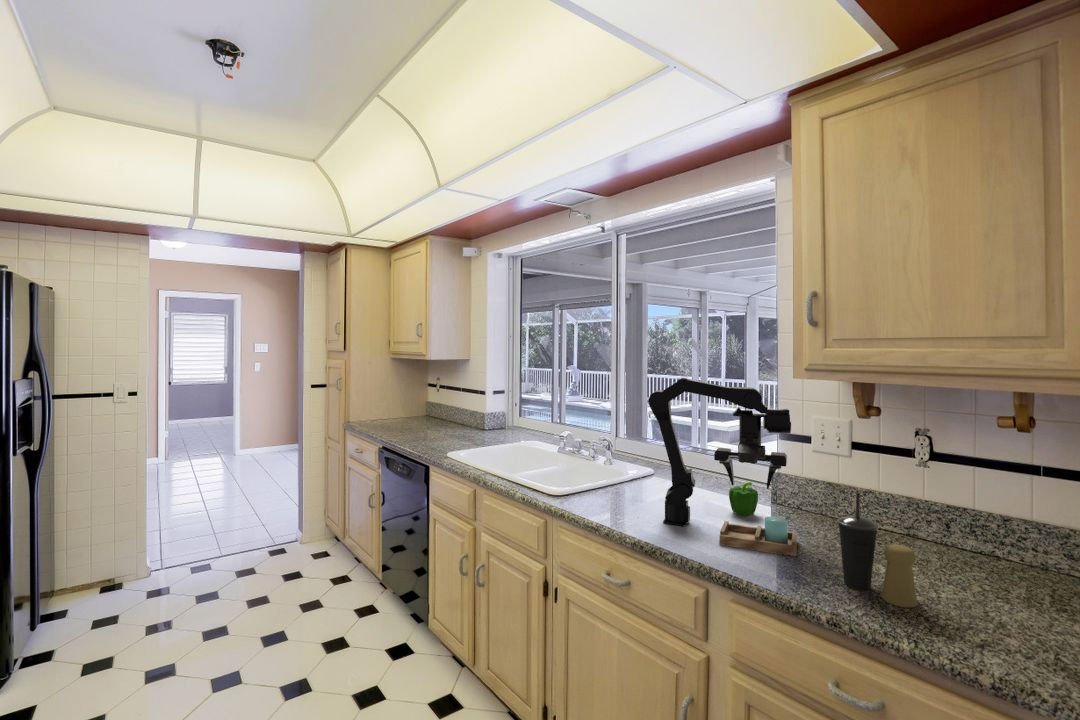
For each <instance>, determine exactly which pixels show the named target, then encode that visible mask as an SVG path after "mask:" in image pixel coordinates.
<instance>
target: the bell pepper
mask: <svg viewBox="0 0 1080 720" xmlns="http://www.w3.org/2000/svg"><path fill="white" fill-rule="evenodd" d="M752 485H753V482H751V481H747V482H744V483H743V484H742V487H741V486H738V485H736V486H734V487H730V489H729V491H728V498H729V499H728V500H729V503H730V507H731V510H732V512H733V514H736V515H737V516H741V517H750V516H751V515H754V514H755V512H756V510H757V506H758V502H759V493H758V491H757V490H756V489H754V488H753V487H752ZM747 486H749V487H747ZM750 486H751V487H750Z"/></svg>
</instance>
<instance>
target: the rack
mask: <svg viewBox="0 0 1080 720" xmlns="http://www.w3.org/2000/svg"><path fill="white" fill-rule="evenodd" d="M797 531H798V530H792V531H788V544H782V543H775V542H768V541H765V527H762V525H757V526H751V525H744V524H737V523H730V522H729V521H727V520H724V522H723V524H722V527H721V528H720V530H719V545H721V546H727V547H731V548H732V547H734V548H740V549H744V550H745V549H746V550H751V551H758V552H764V553H769V554H778V555H782V554H784V555H783V556H788V555H791V557H795V556H796V557H797V546H798V545H797V543H798V541H797V540H798V539H797V536H798V535H797V534H798V532H797Z"/></svg>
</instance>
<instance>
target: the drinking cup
mask: <svg viewBox="0 0 1080 720" xmlns="http://www.w3.org/2000/svg"><path fill="white" fill-rule="evenodd" d="M860 497H861V495H860V492H856V493H855V515H845V516H843V517H839V518H838V517H837V524H838V529H839V539H840V541H839V542H840V552H841V561H842V563H841V564H842V571H843V572H842V573H843V582H844V584H845V586H847V587H849V588H851V589H854V590H857V591H858V590H859V591H867V590H870V589H871V584H872V576H873V568H874V567H873V566H874V560H875V550H876V541H877V533H878V530H879V527H880V526H879V524H878V523H877V522H875V521H872V520H871V519H869V518H866V517H864V516H861V515H860V508H861V507H860V504H861V501H860V500H861V499H860Z"/></svg>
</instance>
